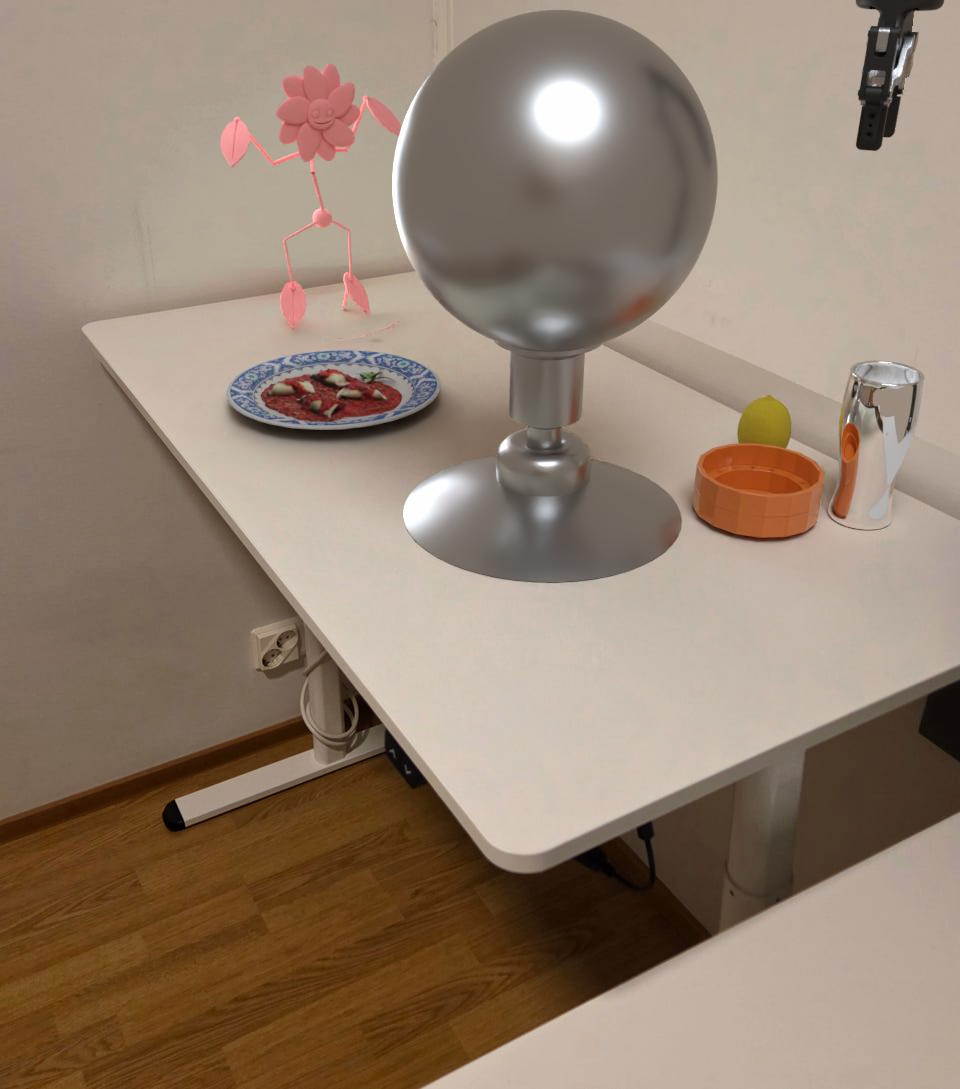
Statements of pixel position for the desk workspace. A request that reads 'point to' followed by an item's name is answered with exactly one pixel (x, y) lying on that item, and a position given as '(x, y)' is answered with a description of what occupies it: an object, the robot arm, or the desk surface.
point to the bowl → (758, 490)
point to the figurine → (313, 154)
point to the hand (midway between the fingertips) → (875, 142)
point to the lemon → (765, 423)
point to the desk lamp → (551, 271)
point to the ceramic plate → (333, 389)
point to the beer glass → (874, 440)
